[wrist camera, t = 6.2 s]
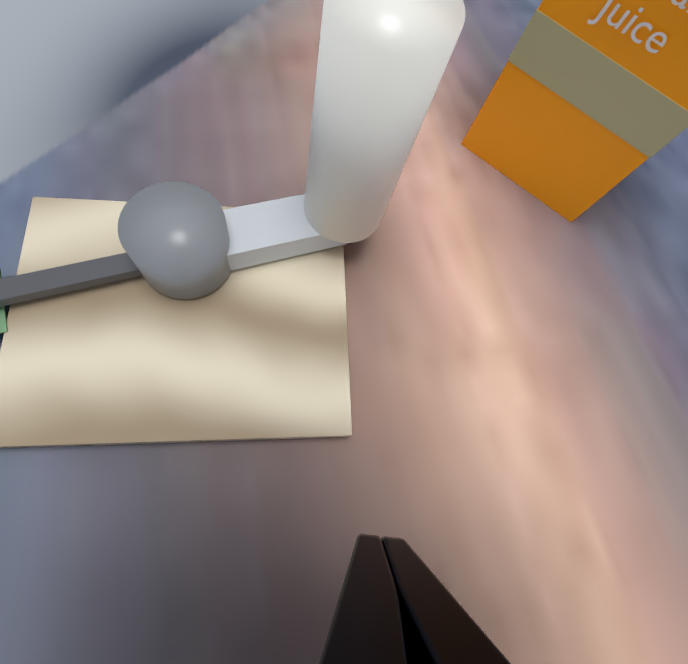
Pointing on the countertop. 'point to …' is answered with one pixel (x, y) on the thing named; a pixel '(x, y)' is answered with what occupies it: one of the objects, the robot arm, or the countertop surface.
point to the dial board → (170, 348)
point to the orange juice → (586, 98)
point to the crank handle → (322, 171)
